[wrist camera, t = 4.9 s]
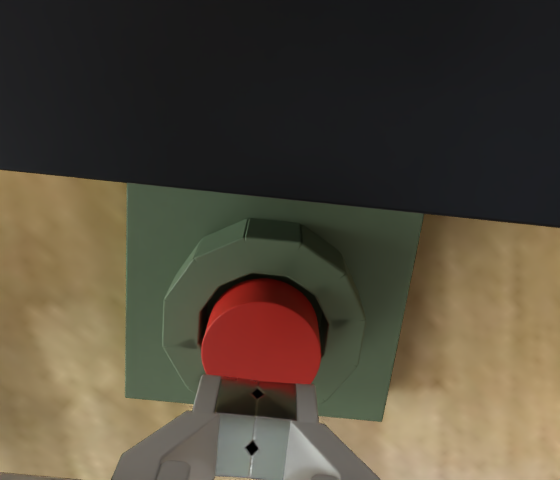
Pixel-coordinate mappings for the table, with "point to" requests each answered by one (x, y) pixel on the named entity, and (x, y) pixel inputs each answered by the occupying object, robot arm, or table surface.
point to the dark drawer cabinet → (293, 100)
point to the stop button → (262, 334)
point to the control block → (273, 265)
